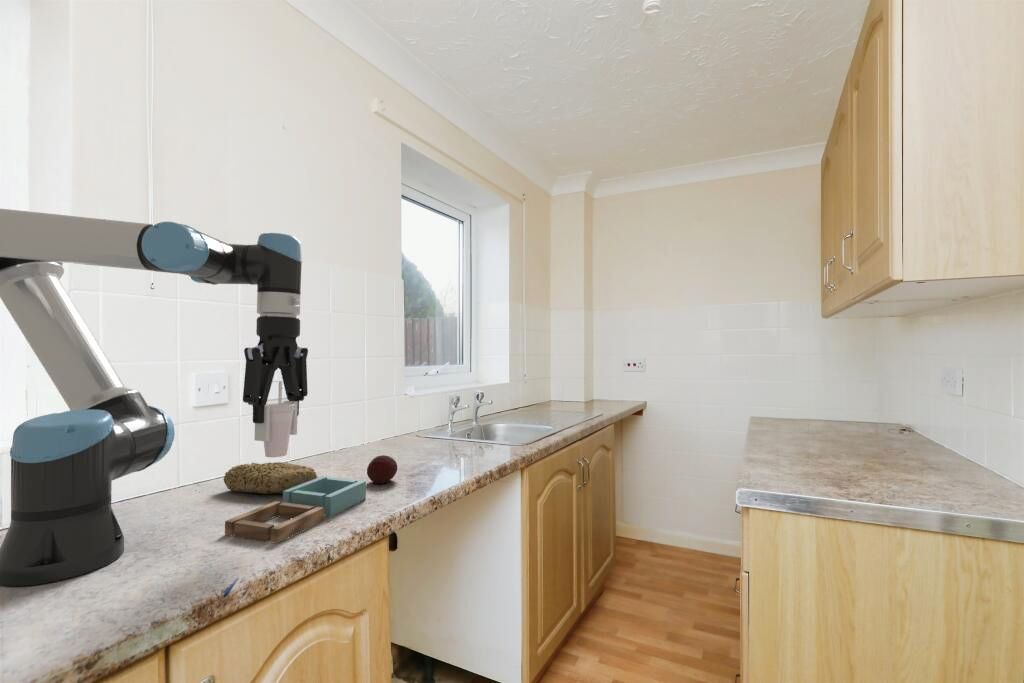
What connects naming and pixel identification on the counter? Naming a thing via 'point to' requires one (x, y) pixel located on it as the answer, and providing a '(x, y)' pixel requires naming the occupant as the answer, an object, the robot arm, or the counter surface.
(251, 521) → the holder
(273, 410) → the smoothie
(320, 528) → the counter surface
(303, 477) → the sponge
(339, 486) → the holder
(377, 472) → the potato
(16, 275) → the robot arm
